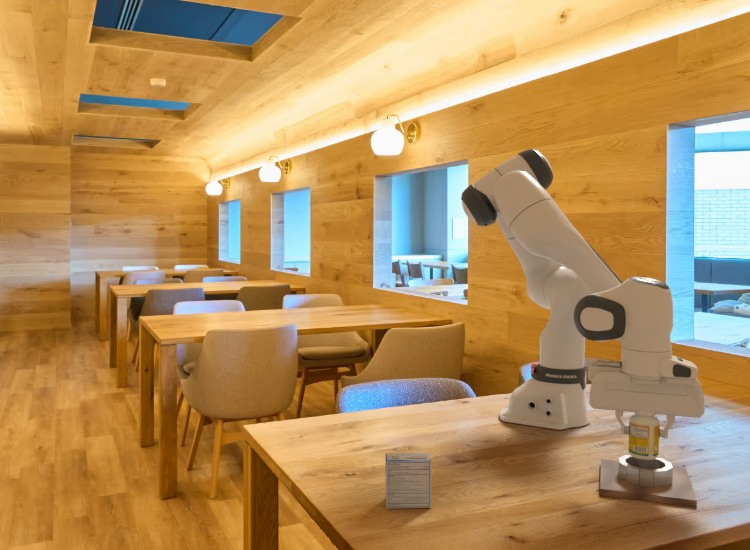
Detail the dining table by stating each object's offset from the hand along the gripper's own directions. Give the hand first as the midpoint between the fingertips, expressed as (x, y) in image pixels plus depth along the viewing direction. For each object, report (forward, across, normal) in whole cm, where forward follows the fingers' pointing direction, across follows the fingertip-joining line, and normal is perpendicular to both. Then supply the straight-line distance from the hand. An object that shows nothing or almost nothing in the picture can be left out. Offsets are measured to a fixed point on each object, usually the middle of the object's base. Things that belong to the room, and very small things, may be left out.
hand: (643, 435), depth 126 cm
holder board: (+10, 0, 0) cm, 10 cm away
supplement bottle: (+4, 0, 0) cm, 4 cm away
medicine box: (+10, -39, -24) cm, 47 cm away
